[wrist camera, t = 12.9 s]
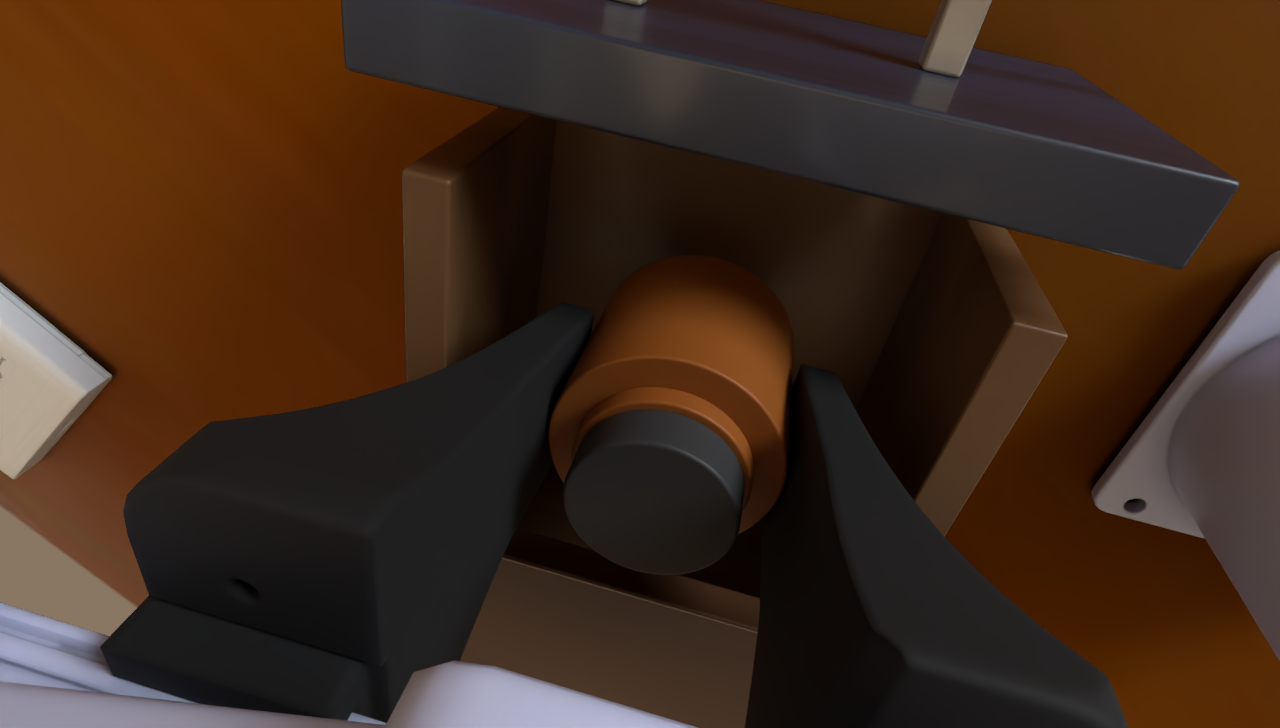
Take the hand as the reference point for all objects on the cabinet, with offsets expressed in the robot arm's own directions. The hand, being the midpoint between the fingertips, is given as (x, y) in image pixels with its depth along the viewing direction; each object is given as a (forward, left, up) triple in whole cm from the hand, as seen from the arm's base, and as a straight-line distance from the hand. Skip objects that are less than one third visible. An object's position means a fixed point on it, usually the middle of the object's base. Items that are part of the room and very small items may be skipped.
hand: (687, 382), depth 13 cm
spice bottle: (0, 0, -1) cm, 1 cm away
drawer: (0, -2, -6) cm, 6 cm away
